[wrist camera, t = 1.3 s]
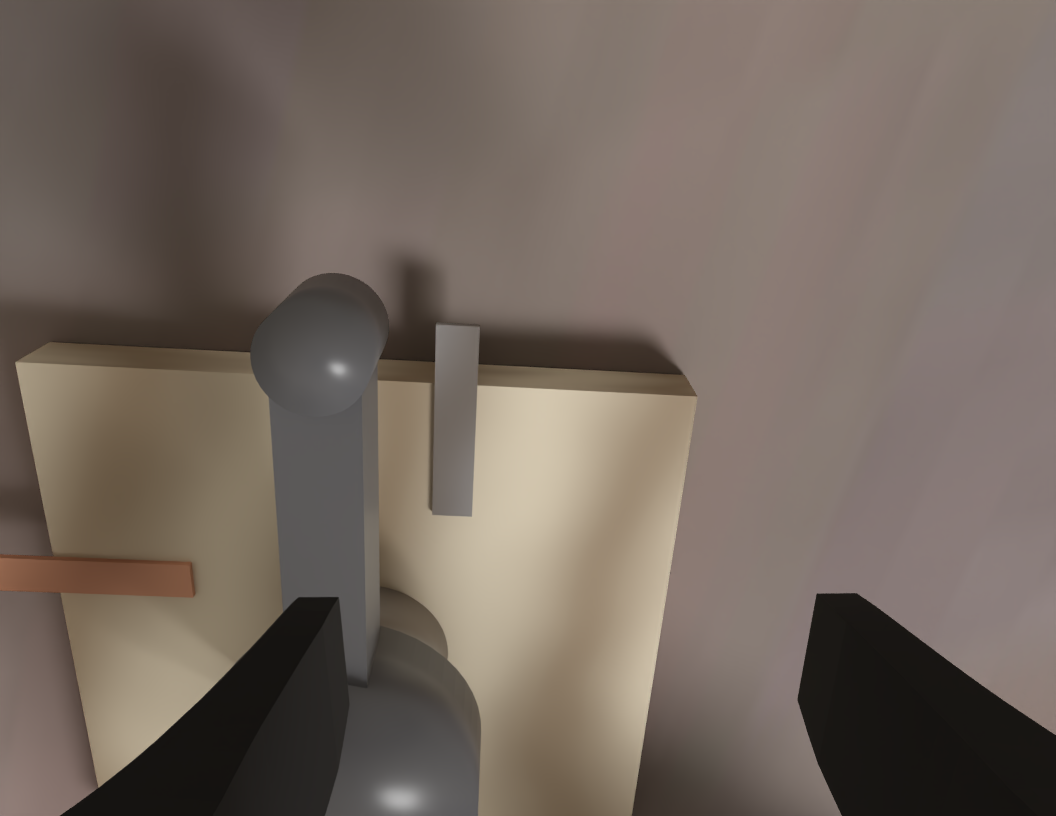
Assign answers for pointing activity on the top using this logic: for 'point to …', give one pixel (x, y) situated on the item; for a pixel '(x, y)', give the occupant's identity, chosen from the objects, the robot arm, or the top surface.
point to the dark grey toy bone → (357, 555)
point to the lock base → (404, 544)
